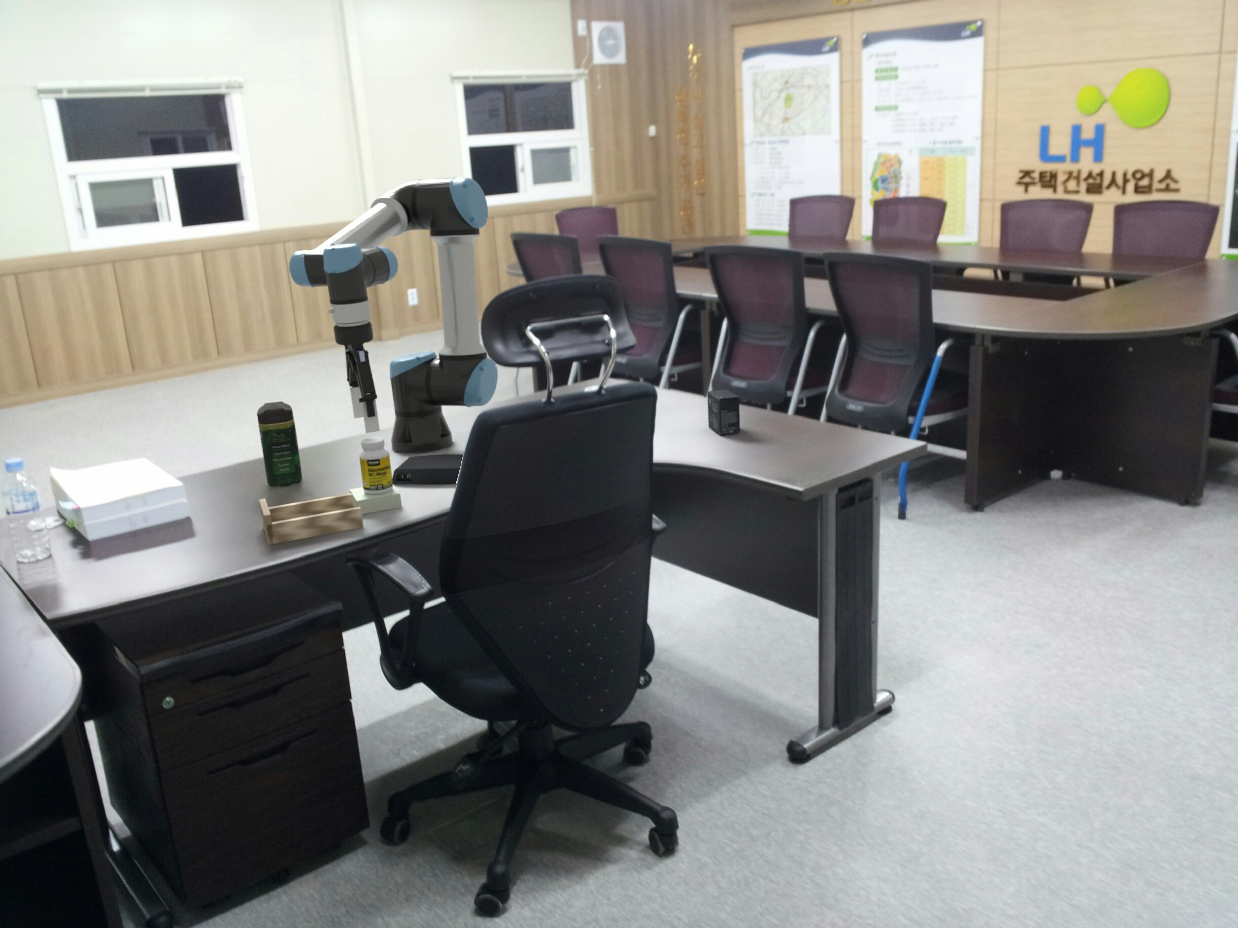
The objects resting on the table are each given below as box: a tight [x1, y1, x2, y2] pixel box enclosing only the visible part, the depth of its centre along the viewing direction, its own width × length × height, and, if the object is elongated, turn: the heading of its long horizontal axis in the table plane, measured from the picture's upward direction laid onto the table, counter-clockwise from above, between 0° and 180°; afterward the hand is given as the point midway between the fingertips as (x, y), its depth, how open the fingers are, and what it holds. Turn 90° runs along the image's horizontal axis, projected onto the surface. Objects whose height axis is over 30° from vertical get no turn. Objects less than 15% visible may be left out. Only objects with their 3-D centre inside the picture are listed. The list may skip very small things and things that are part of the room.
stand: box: [349, 484, 403, 515], centre depth 228 cm, size 9×9×3 cm
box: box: [707, 389, 741, 436], centre depth 268 cm, size 9×6×10 cm, turn 13°
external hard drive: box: [392, 453, 464, 486], centre depth 246 cm, size 13×19×4 cm
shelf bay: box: [258, 492, 364, 546], centre depth 217 cm, size 18×11×6 cm, turn 113°
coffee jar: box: [256, 401, 303, 488], centre depth 247 cm, size 10×8×19 cm
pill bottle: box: [359, 437, 394, 494], centre depth 227 cm, size 6×6×11 cm
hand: (366, 424), depth 224 cm, fingers open, 13 cm apart
